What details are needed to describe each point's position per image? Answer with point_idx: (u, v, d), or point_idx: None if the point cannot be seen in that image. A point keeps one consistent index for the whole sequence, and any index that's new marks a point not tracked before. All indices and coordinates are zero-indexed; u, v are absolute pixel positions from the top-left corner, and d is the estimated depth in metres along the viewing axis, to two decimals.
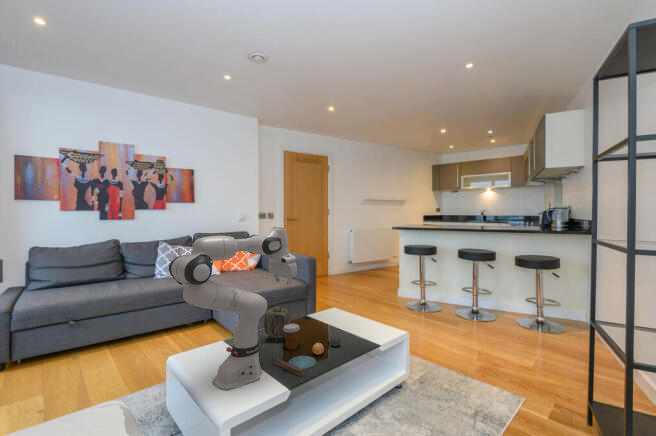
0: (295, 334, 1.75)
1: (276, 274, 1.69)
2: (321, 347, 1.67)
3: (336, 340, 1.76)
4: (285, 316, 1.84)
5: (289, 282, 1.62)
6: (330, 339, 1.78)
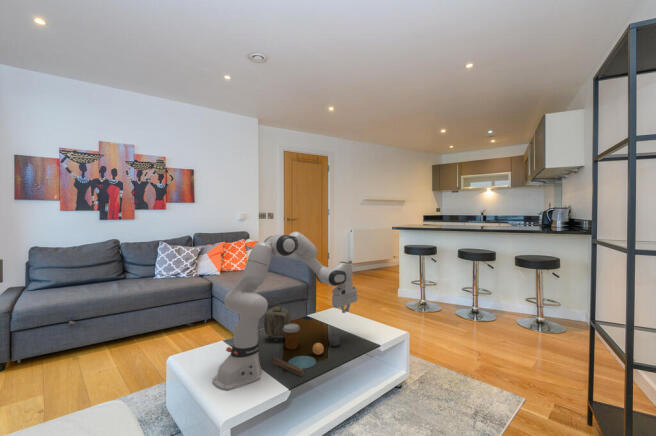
0: (295, 334, 1.75)
1: None
2: (321, 347, 1.67)
3: (336, 340, 1.76)
4: (285, 316, 1.84)
5: (342, 310, 1.85)
6: (330, 339, 1.78)
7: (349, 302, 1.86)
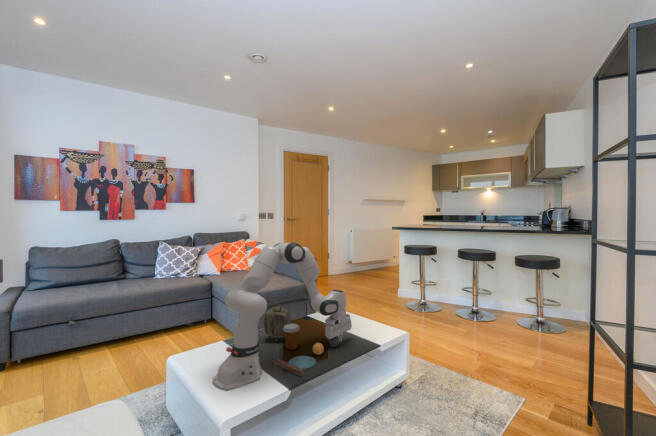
0: (295, 334, 1.75)
1: (339, 333, 1.82)
2: (321, 347, 1.67)
3: (335, 341, 1.75)
4: (285, 316, 1.84)
5: None
6: (329, 341, 1.77)
7: (343, 331, 1.82)
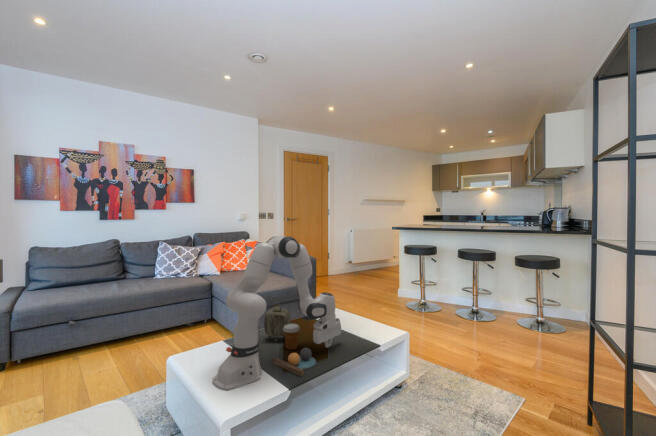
0: (295, 334, 1.75)
1: (329, 338, 1.75)
2: (296, 357, 1.55)
3: (311, 353, 1.62)
4: (285, 316, 1.84)
5: (326, 345, 1.73)
6: None
7: (332, 336, 1.74)
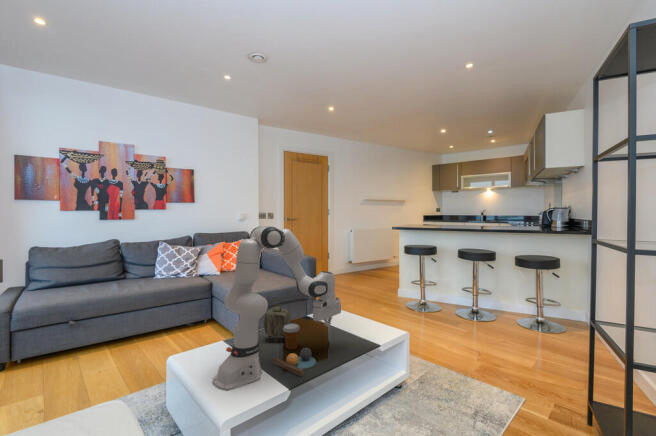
0: (295, 334, 1.75)
1: None
2: (294, 358, 1.54)
3: (311, 353, 1.62)
4: (285, 316, 1.84)
5: (325, 323, 1.73)
6: None
7: (332, 314, 1.74)
